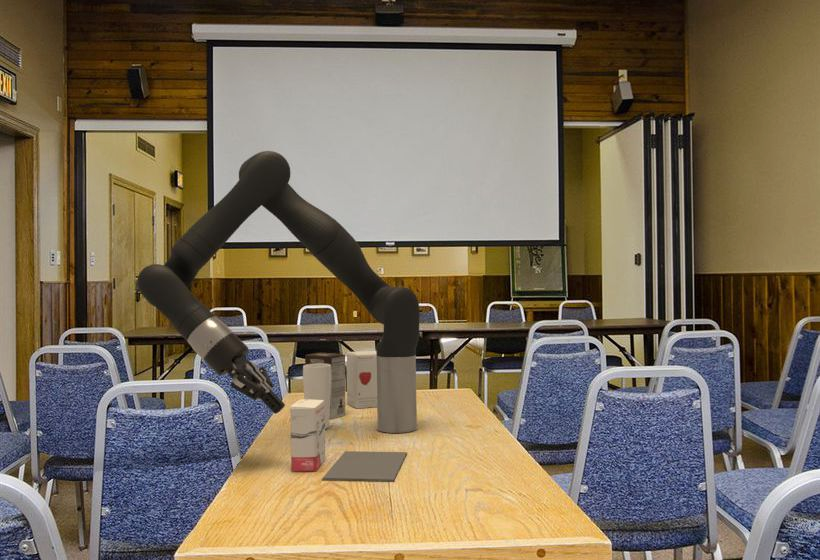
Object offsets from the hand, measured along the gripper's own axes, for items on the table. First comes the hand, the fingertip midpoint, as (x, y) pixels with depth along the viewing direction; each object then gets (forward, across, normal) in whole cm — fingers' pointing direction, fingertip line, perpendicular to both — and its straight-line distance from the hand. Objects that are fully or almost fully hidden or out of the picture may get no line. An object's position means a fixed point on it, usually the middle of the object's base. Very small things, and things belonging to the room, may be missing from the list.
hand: (280, 409), depth 121 cm
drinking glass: (+7, +31, +8) cm, 33 cm away
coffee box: (+5, +46, +10) cm, 47 cm away
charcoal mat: (+19, 0, -4) cm, 20 cm away
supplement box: (+11, +61, +4) cm, 62 cm away
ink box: (+11, 0, +4) cm, 12 cm away
